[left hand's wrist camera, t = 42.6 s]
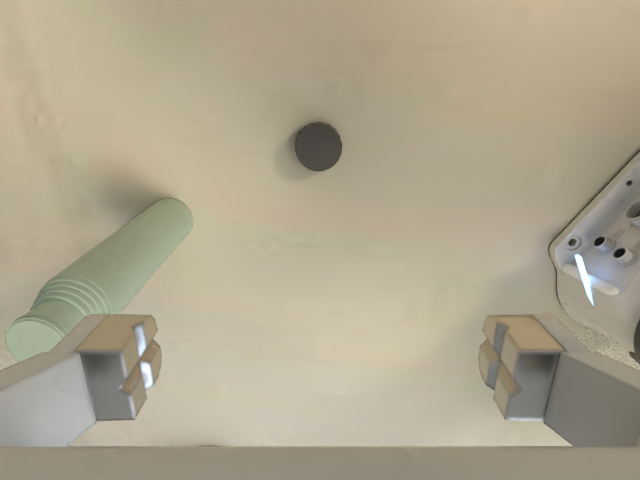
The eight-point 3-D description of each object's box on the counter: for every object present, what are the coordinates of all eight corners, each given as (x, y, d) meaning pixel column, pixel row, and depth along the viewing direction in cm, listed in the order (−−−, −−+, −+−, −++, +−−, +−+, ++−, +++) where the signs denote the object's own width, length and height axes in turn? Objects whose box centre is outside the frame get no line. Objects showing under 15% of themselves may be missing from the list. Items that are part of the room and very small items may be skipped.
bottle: (200, 212, 44) (89, 334, 23) (181, 247, 46) (60, 392, 24) (160, 189, 44) (6, 294, 22) (142, 225, 45) (-20, 356, 24)
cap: (286, 145, 42) (285, 148, 40) (318, 111, 41) (318, 113, 39) (319, 176, 43) (318, 180, 41) (350, 144, 42) (351, 147, 40)
